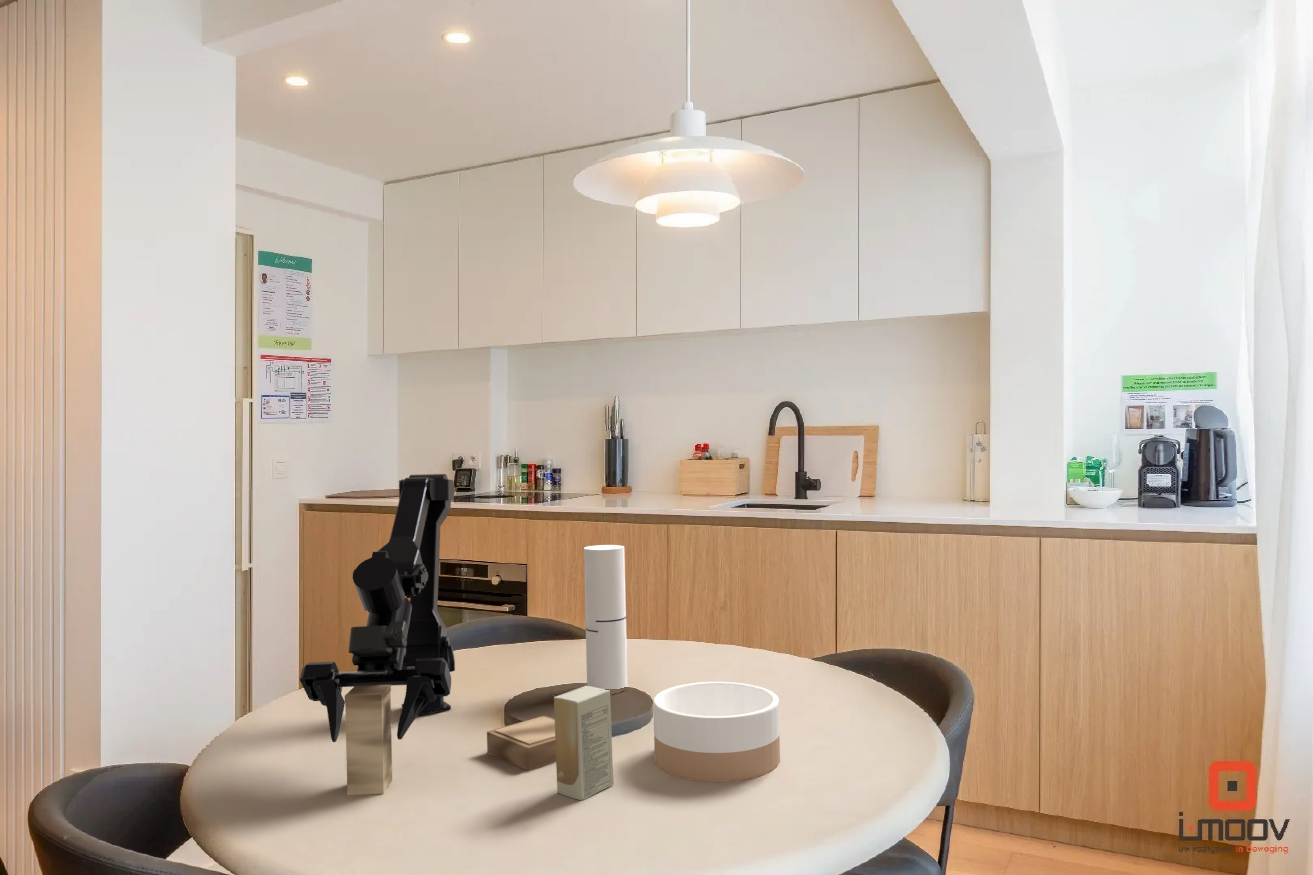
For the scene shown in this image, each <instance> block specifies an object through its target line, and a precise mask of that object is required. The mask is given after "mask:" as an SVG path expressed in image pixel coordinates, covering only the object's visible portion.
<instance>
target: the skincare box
mask: <svg viewBox="0 0 1313 875" xmlns="http://www.w3.org/2000/svg"><path fill="white" fill-rule="evenodd" d="M553 706H554V707H553V708H554V709H553V710H554V711H553V712H554V719H555V741H556V762H555V763H556V764H555V765H556V767H555V768H556V791H557V794H561V795H562V796H566V797H569V798H572V799H576V800H578V801H583V800H585V799H587V798H589V797H591V796H593V795H596V794H597V793H599V792H601V791H603V790H605V789H606V788H609V787H610V786H613V785H614V765H613V764H614V763H613V762H614V761H613V742H612V741H613V740H612V712H611V710H612V709H611V694H610V690H605V689H601V688H596V687H592V686H587V685H584V686H581V687H578V688H576V689H572V690H570V691H567V692H564V693H562V694H559V695H557V696H553Z"/></svg>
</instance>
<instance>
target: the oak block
mask: <svg viewBox="0 0 1313 875" xmlns="http://www.w3.org/2000/svg"><path fill="white" fill-rule="evenodd" d="M391 692H392V686H391V685H365V686H354V687H352V688H351V689H350V690H349V691H348V692H347V693H346V694H345V695H344V701H345V705H344V711H345V746H346V748H345V750H346V752H345V753H346V754H345V756H346V796H359V795H360V796H361V795H362V796H363V795H383V794H385V792H386V791H387V789H388V788H389V787H390V785H391V783H392V781H393V753H392V752H393V750H392V749H393V748H392V744H393V742H392V706H391V705H392V702H391V698H392V697H391Z"/></svg>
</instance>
